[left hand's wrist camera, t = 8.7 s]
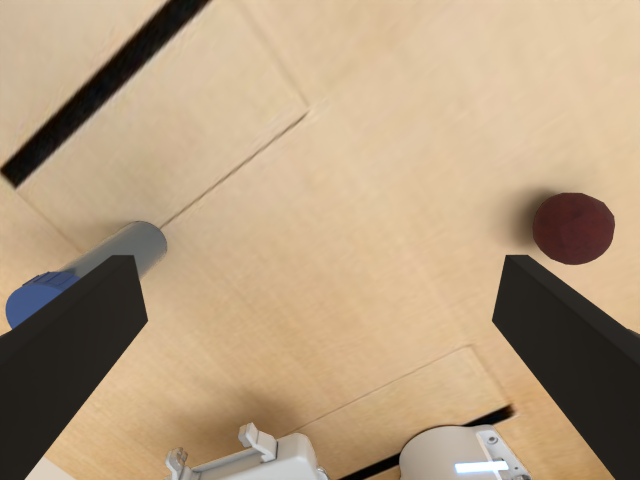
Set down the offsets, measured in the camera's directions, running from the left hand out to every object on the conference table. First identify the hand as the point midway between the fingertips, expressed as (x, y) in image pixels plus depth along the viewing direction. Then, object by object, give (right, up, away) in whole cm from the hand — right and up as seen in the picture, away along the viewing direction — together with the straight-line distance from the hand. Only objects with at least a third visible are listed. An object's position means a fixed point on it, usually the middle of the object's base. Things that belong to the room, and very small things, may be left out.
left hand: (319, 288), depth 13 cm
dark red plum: (+27, +4, +28) cm, 39 cm away
